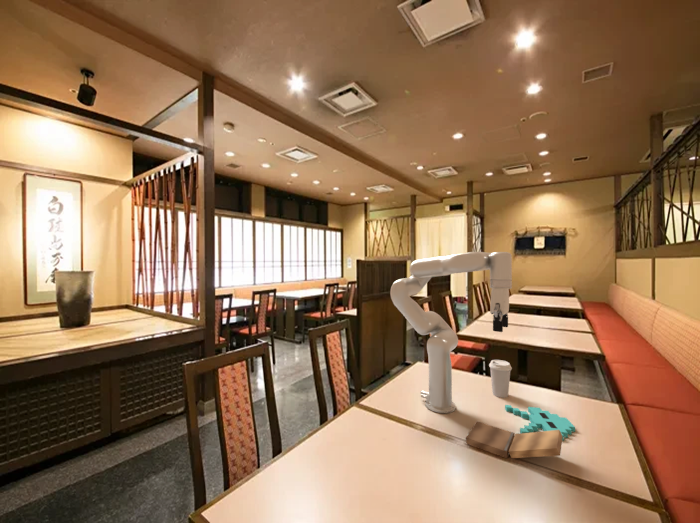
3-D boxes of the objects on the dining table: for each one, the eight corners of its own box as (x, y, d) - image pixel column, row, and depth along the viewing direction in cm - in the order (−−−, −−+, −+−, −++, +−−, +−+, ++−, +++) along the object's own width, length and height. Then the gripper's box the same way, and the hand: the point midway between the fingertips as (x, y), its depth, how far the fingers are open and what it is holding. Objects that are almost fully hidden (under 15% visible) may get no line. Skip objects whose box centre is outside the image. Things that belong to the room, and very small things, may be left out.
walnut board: (466, 443, 103) (466, 436, 103) (476, 426, 114) (476, 420, 114) (507, 458, 96) (507, 451, 96) (514, 439, 106) (514, 432, 106)
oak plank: (511, 458, 95) (508, 451, 96) (518, 440, 105) (515, 434, 105) (560, 455, 87) (556, 448, 88) (562, 436, 97) (559, 429, 97)
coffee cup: (486, 389, 146) (486, 358, 146) (508, 391, 144) (508, 359, 144) (492, 398, 137) (491, 365, 137) (514, 400, 135) (514, 366, 135)
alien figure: (522, 437, 108) (585, 444, 103) (522, 431, 107) (585, 437, 103) (505, 410, 127) (557, 414, 123) (505, 404, 127) (557, 409, 123)
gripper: (495, 282, 124) (495, 323, 124) (484, 285, 110) (484, 332, 110) (515, 283, 119) (515, 326, 119) (506, 286, 105) (507, 335, 106)
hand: (500, 329), depth 115 cm, fingers open, 9 cm apart
